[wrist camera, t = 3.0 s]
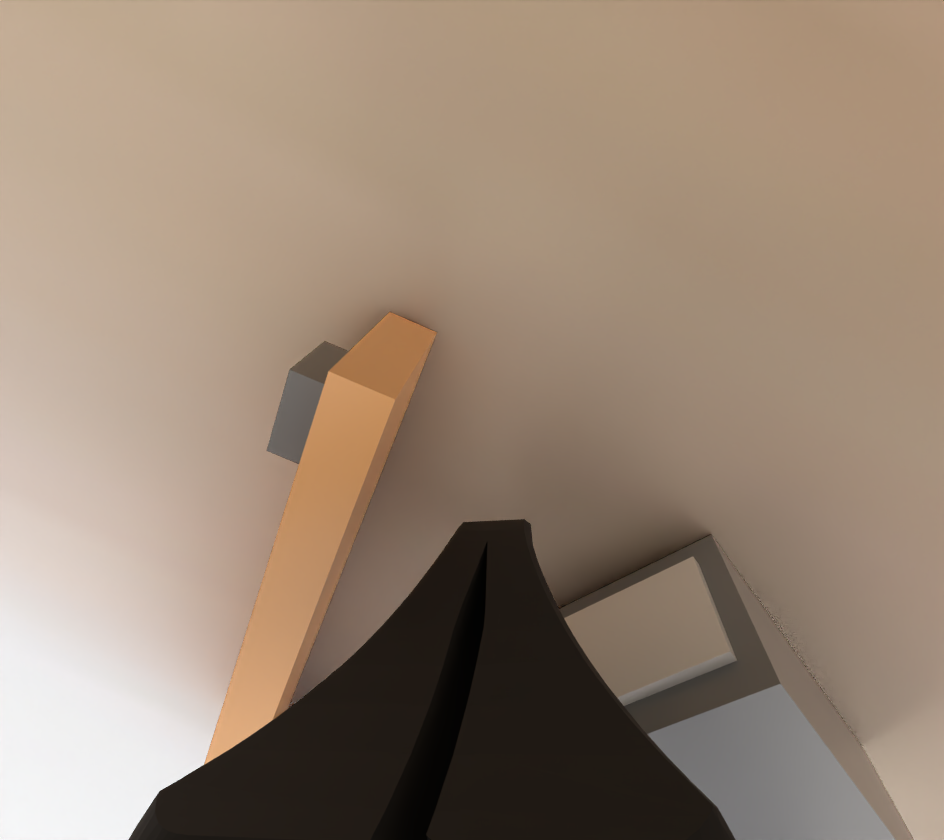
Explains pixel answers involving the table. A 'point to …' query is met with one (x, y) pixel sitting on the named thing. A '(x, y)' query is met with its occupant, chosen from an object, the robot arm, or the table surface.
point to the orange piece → (319, 507)
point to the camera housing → (731, 701)
